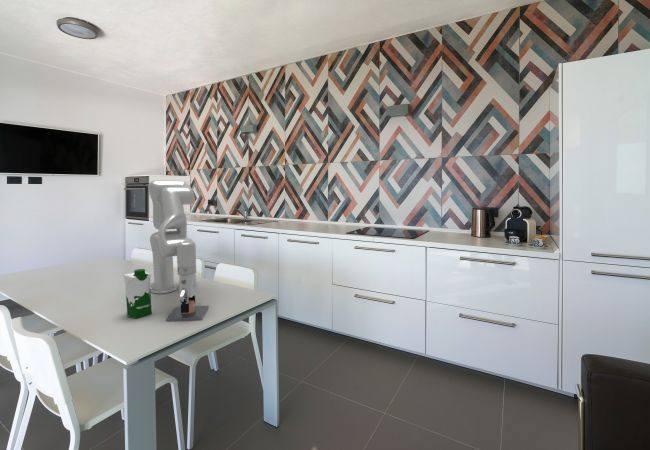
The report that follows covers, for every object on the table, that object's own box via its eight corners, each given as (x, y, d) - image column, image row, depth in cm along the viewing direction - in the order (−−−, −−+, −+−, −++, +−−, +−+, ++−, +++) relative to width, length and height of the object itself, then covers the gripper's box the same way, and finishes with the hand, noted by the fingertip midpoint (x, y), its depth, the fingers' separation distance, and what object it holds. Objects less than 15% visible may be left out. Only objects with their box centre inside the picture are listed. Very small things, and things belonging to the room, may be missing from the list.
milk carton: (134, 320, 139) (131, 273, 136) (123, 315, 144) (121, 269, 142) (154, 313, 146) (152, 268, 144) (144, 309, 151) (142, 265, 149)
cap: (196, 309, 148) (195, 300, 148) (192, 313, 143) (192, 304, 143) (184, 309, 148) (183, 300, 147) (180, 314, 143) (179, 304, 142)
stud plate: (166, 321, 138) (165, 311, 137) (176, 309, 152) (176, 300, 151) (201, 320, 139) (201, 310, 139) (208, 308, 153) (208, 299, 153)
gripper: (190, 275, 135) (191, 315, 137) (201, 265, 152) (202, 301, 154) (170, 275, 134) (172, 316, 136) (183, 265, 151) (185, 301, 153)
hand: (188, 308), depth 145 cm, fingers open, 9 cm apart
